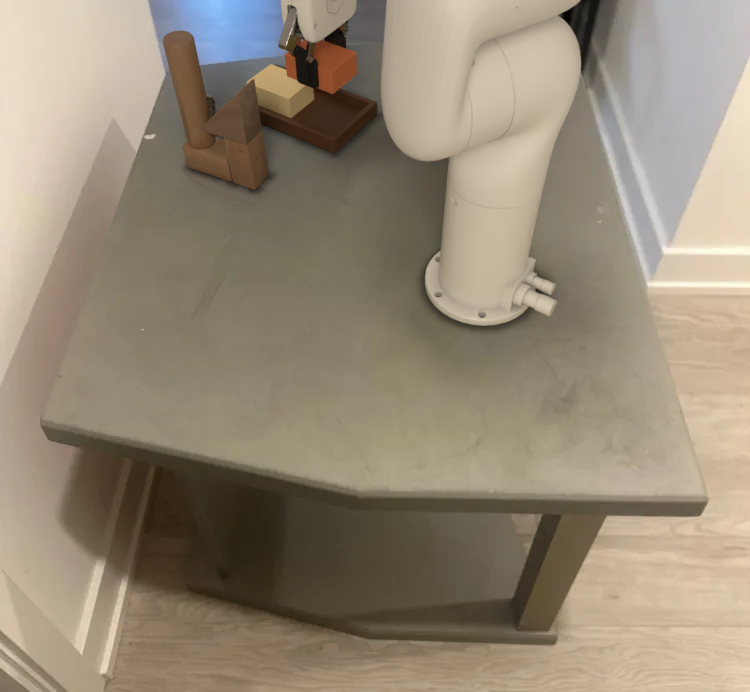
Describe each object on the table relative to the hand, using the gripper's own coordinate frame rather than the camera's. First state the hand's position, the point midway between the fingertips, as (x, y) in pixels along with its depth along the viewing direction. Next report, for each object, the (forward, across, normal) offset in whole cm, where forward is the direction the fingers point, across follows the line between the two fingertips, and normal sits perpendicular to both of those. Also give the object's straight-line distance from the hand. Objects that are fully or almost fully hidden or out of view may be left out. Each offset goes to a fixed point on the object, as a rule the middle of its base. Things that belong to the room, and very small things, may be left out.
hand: (322, 72), depth 99 cm
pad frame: (+8, 0, +4) cm, 9 cm away
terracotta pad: (0, 0, 0) cm, 1 cm away
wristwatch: (+8, -10, +14) cm, 19 cm away
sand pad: (+7, 0, +8) cm, 10 cm away
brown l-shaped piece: (+8, -16, +4) cm, 18 cm away
